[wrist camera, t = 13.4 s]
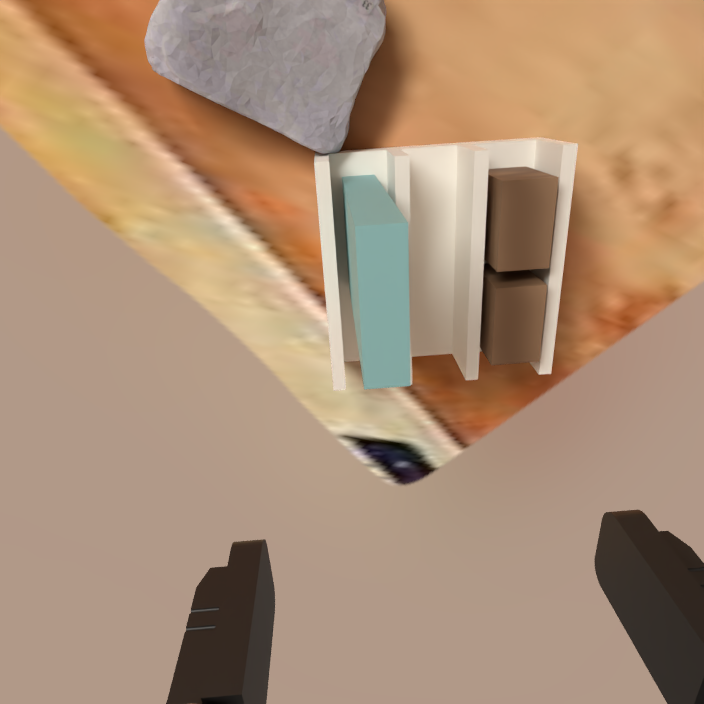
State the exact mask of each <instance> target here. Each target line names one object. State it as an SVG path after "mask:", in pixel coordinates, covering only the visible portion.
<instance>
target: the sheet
mask: <svg viewBox="0 0 704 704" xmlns="http://www.w3.org/2000/svg"><path fill="white" fill-rule="evenodd" d="M342 187H343V202H344V217H345V232H346V248H347V263H348V278H349V289H350V296H351V303H352V310H353V316H354V323H355V330H356V337H357V344H358V350H359V357H360V364H361V371H362V377H363V384H364V389H376V388H389V387H401V386H411V385H410V316H409V246H408V222H407V220H406V219H405V217H404V216H403V214H402V213H401V212H400V210H399V209H398V207H397V206H396V204H395V203H394V202H393V200H392V199H391V197H390V196H389V194H388V193H387V192H386V190H385V189H384V187H383V186H382V185H381V183H380V182H379V180H378V179H377V177H376V176H375V175H360V176H345V177H342Z"/></svg>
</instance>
